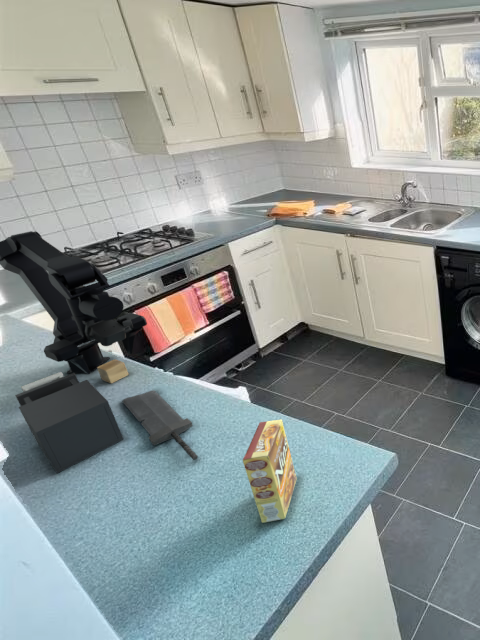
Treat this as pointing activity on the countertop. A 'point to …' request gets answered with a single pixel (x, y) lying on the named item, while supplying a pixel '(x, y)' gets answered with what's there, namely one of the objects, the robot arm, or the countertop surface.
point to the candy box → (270, 470)
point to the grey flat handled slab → (159, 419)
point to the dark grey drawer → (45, 387)
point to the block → (112, 371)
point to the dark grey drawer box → (72, 424)
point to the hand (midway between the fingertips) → (109, 363)
